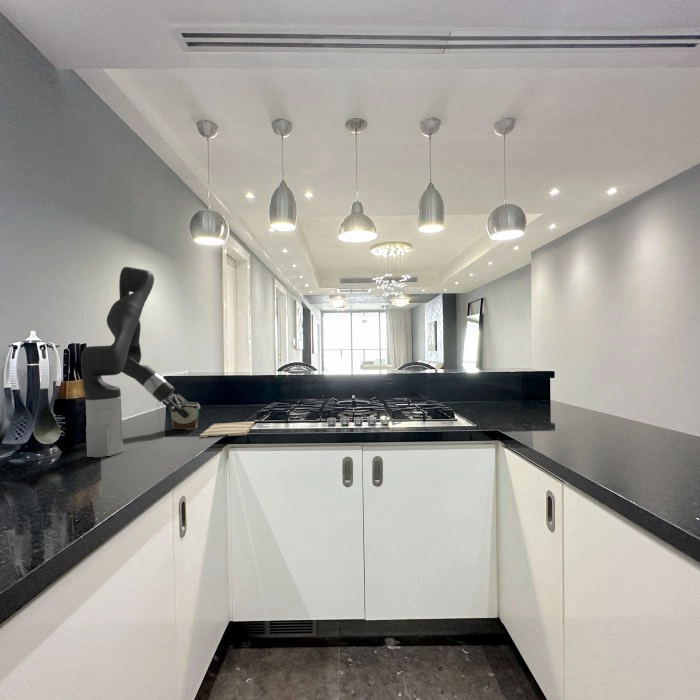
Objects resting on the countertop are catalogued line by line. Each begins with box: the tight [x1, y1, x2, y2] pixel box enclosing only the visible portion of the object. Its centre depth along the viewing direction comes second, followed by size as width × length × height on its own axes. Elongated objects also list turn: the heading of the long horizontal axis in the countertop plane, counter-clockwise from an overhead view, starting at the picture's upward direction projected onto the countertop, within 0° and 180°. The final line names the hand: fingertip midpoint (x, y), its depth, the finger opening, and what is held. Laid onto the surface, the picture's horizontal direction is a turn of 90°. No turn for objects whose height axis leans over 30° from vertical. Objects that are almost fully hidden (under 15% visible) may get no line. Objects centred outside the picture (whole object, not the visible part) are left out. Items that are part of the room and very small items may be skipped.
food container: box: [168, 401, 201, 430], centre depth 157 cm, size 12×6×10 cm, turn 84°
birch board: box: [199, 421, 255, 438], centre depth 149 cm, size 20×16×1 cm
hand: (190, 415), depth 157 cm, fingers open, 7 cm apart
